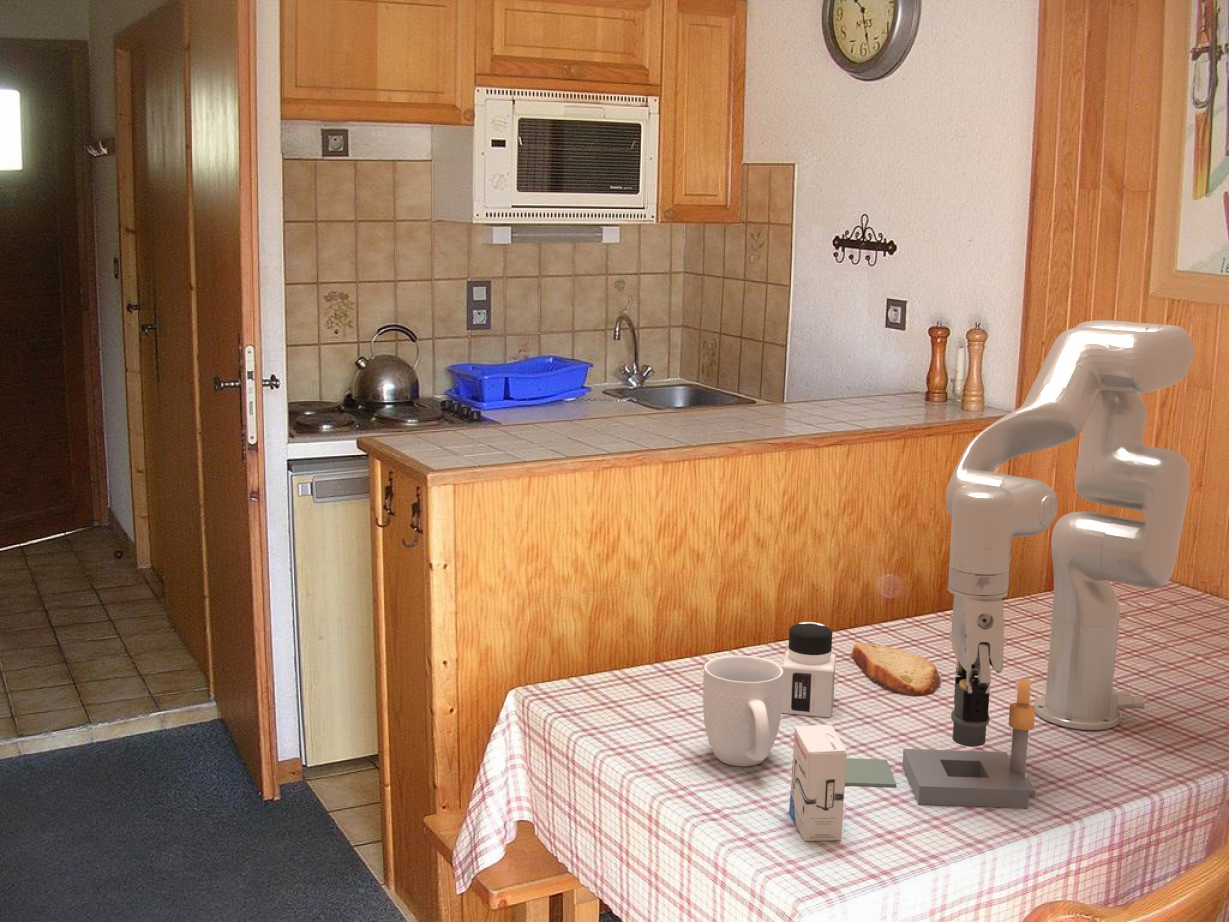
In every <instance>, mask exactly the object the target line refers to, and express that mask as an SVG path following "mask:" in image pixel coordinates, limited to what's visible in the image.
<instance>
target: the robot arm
mask: <svg viewBox="0 0 1229 922" xmlns="http://www.w3.org/2000/svg"><path fill="white" fill-rule="evenodd" d="M1194 351H1195V349H1194V343H1193V339H1192V338H1191V335H1190V333H1188V331H1187V330H1186V329H1185V328H1183V327H1181V326H1178V325H1173V324H1171V325H1170V324H1161V323H1147V322H1145V323H1144V322H1135V321H1125V320H1112V319H1111V320H1110V319H1109V320H1106V319H1105V320H1104V319H1098V320H1089V321H1084V322H1081V323H1078V324H1077V325H1076V326H1075V327H1073V328H1069V329H1066V330H1065V331H1063V332H1061V333H1060V334H1059V335H1058V336H1057V338H1055V340H1054V341H1053V343H1052V345H1051V347H1050V349H1049V351H1048V353H1047V356H1046V357H1045V359H1044V361H1043V364H1042V366H1041V367H1040V369H1039V371H1038V373H1037V376H1036V378H1035V380H1034V381H1033V384H1032V385H1031V387H1030V389H1029V391H1028V394H1027V395H1026V397H1025V399H1024V402H1023V404H1022V405H1021V406H1020V407H1019V408H1017V409H1015V410H1013V411H1012V412H1009V413H1008V414H1006V415H1004V416H1002V417H1001V418H999V419H998V420H997V421H995V422H993V423H991V424H990V425H989V426H987V427H985V428H984V429H983V430H982V431H980V433H978V434H977V435H976V436H974V438H972V440H970V442H969V443H968V444H967V446H966V447H965V449H964V451H963V453H962V454H961V457H960V458H959V461H958V462H957V464H956V466H955V468H954V470H953V472H952V474H951V477H950V480H949V482H948V485H947V488H946V494H945V507H946V510H947V512H948V514H949V515H950V517H951V527H950V546H949V563H948V564H949V565H948V581H947V582H948V584H947V585H948V586H947V591H948V592H949V593H951V594H952V595H953V606H952V617H951V649H952V652H953V654H954V656H955V658H956V667H955V673H956V674H955V675H956V676H955V679H954V680H955V681H954V689H955V688H956V684H958V683H960V681H961V680H963V679H966V691H964V694H963V711H962V718H963V720H964V721H966V722H986V721H987V720H988V715H989V709H990V708H989V706H990V693H991V692H990V690H991V689H990V688H991V687H990V686H991V682H992V678H991V677H992V676H991V668H992V669H993V671H994V672H996V673H997V674H1000V673H1002V671H1003V670H1004V656H1005V655H1004V646H1005V638H1004V637H1005V617H1004V616H1005V615H1004V601H1003V598H1005V597H1007V596H1008V595H1009V594H1008V593H1009V585H1010V583H1009V580H1010V570H1011V569H1010V567H1011V566H1010V565H1011V553H1012V551H1011V550H1012V539H1015V538H1025V537H1026V538H1027V537H1033V536H1034V537H1035V536H1037V535H1040V534H1042V533H1044V532H1045V531H1046V530H1048V528H1050V526H1052V524H1053V523H1054V521H1055V519H1056V517H1057V514H1058V509H1059V503H1058V502H1059V501H1058V497H1057V493H1056V492H1055V490H1054V489H1053V488H1052V487H1051V486H1050V485H1049V484H1047V483H1045V482H1043V481H1041V480H1038V479H1035V478H1034V479H1033V478H1028V477H1022V476H1015V475H1011V474H1006V473H1005V474H1004V473H998V472H994V471H995V470H996V469H998V468H999V467H1001V465H1003V464H1004V463H1006V462H1008V461H1009V460H1012V459H1014V458H1017V457H1019V456H1023V455H1026V454H1029V453H1033V452H1039V451H1042V450H1047V449H1050V448H1054V447H1058V446H1062V445H1065V444H1069V443H1070V442H1072V441H1074V440H1075V439H1077V438H1078V437H1079V436H1080V435H1081V433H1082V435H1081V439H1080V445H1079V450H1078V456H1077V461H1076V467H1075V471H1074V472H1075V474H1074V489H1075V492H1076V493H1077V495H1078V496H1079V497H1081V498H1082V499H1083V500H1085V501H1088V502H1091V503H1094V504H1099V505H1104V506H1109V507H1116V508H1121V509H1127V510H1128V509H1129V510H1133V511H1139V512H1142V513H1143V516H1144V519H1143V520H1138V519H1133V518H1128V517H1127V518H1126V517H1121V516H1119V515H1118V516H1117V515H1113V514H1112V515H1111V514H1106V513H1105V514H1104V513H1101V512H1100V513H1099V512H1094V511H1084V510H1083V511H1082V510H1081V511H1073V512H1069V513H1066V514H1065V515H1062V516H1061V517H1060V518H1059V519H1058V520H1057V522H1056V523H1055V525H1054V527H1053V529H1052V533H1051V541H1050V542H1051V543H1050V545H1051V555H1052V556H1051V557H1052V564H1053V602H1052V611H1051V612H1052V616H1051V623H1050V624H1051V626H1050V638H1049V649H1048V660H1047V661H1048V663H1047V673H1046V674H1047V675H1046V685H1045V694H1043V695H1041V696H1039V697H1037V698H1036V699H1034V702H1033V706H1034V707H1035V715H1037V716H1038V717H1039V718H1041V719H1043V720H1045V721H1047V722H1049V723H1051V724H1055V725H1056V726H1057V725H1058V726H1061V727H1065V728H1068V729H1069V728H1070V729H1077V730H1085V731H1086V730H1087V731H1097V730H1098V731H1101V730H1107V729H1112V728H1114V727H1116V726H1118V725H1119V724H1120V723H1121V720H1122V712H1121V711H1122V710H1124V708H1128V709H1129V708H1130V709H1142V710H1144V709H1145V706H1146V705H1145V704H1146V700H1145V697H1144V695H1131V692H1130V691H1117V690H1116V689H1115V688H1114V680H1115V679H1114V677H1115V666H1116V656H1117V654H1116V653H1117V645H1118V636H1119V635H1118V633H1119V624H1120V623H1119V622H1120V616H1121V615H1120V614H1121V612H1120V611H1121V609H1120V603H1119V599H1118V596H1117V594H1116V592H1115V590H1114V587H1113V585H1112V584H1111V582H1114V583H1120V584H1124V585H1126V586H1127V585H1128V586H1134V587H1139V588H1143V589H1159V588H1161V587H1163V586H1165V585H1166V584H1167V583H1168V582H1169V580H1171V578H1172V575H1173V574H1174V570H1175V566H1176V563H1177V559H1178V553H1179V548H1180V543H1181V539H1182V538H1181V537H1182V532H1183V527H1184V524H1185V523H1184V522H1185V517H1186V511H1187V505H1188V501H1189V495H1190V488H1191V486H1190V485H1191V473H1190V467H1189V464H1188V462H1187V460H1186V458H1185V457H1184V456H1183V455H1182V454H1180V453H1179V452H1177V451H1175V450H1172V449H1169V448H1163V447H1156V446H1148V445H1144V437H1145V430H1146V424H1147V418H1148V411H1147V406H1146V404H1145V402H1144V398H1143V397H1142V395H1141V394H1147V393H1153V392H1156V391H1159V390H1164V389H1165V388H1169V387H1170V388H1171V387H1173V386H1175V385H1176V384H1179V383H1180V382H1181V381H1182V380H1184V378H1185V377H1186V375H1187V374H1188V372H1190V369H1191V366H1192V363H1193V360H1194ZM972 679H974V680H973V682H972ZM953 704H954V705H955V693H954V700H953Z"/></svg>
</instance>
